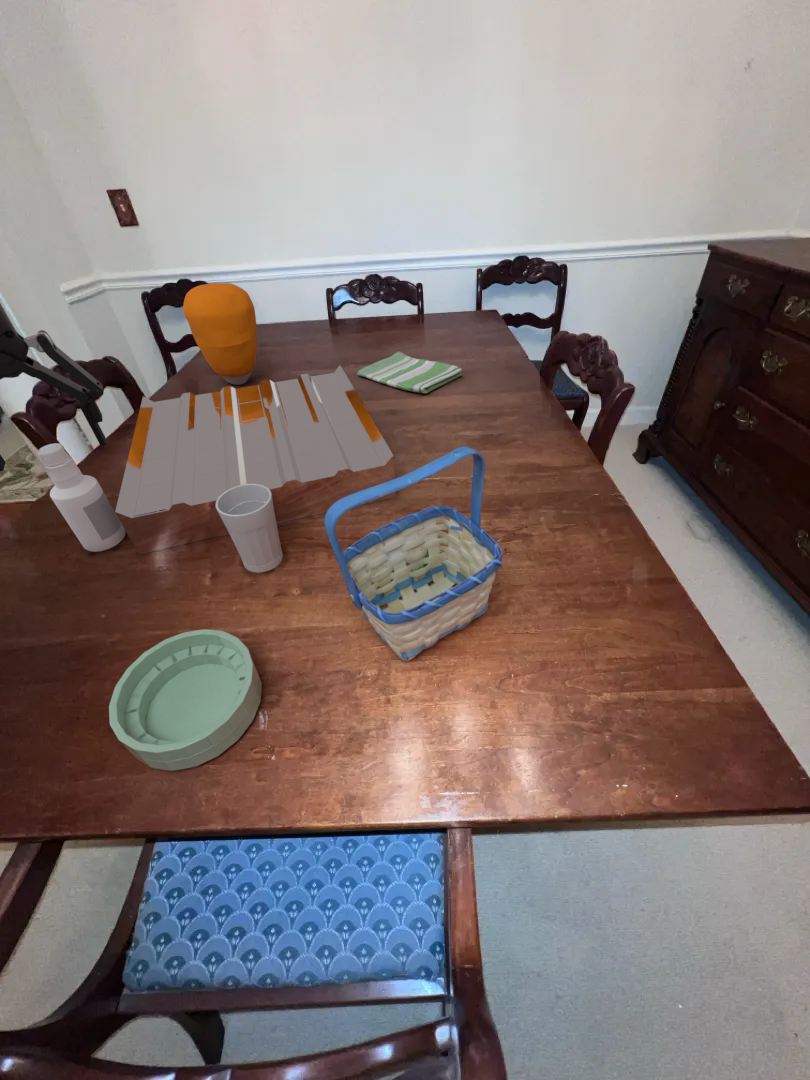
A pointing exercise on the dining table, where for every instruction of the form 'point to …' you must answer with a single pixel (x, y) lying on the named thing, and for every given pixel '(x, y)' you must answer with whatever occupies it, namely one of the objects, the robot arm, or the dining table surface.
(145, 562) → the dining table surface
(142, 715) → the bowl
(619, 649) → the dining table surface
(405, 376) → the dish towel
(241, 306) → the orange egg-shaped ornament
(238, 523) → the cup
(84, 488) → the white bottle
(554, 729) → the dining table surface
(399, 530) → the basket
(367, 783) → the dining table surface
